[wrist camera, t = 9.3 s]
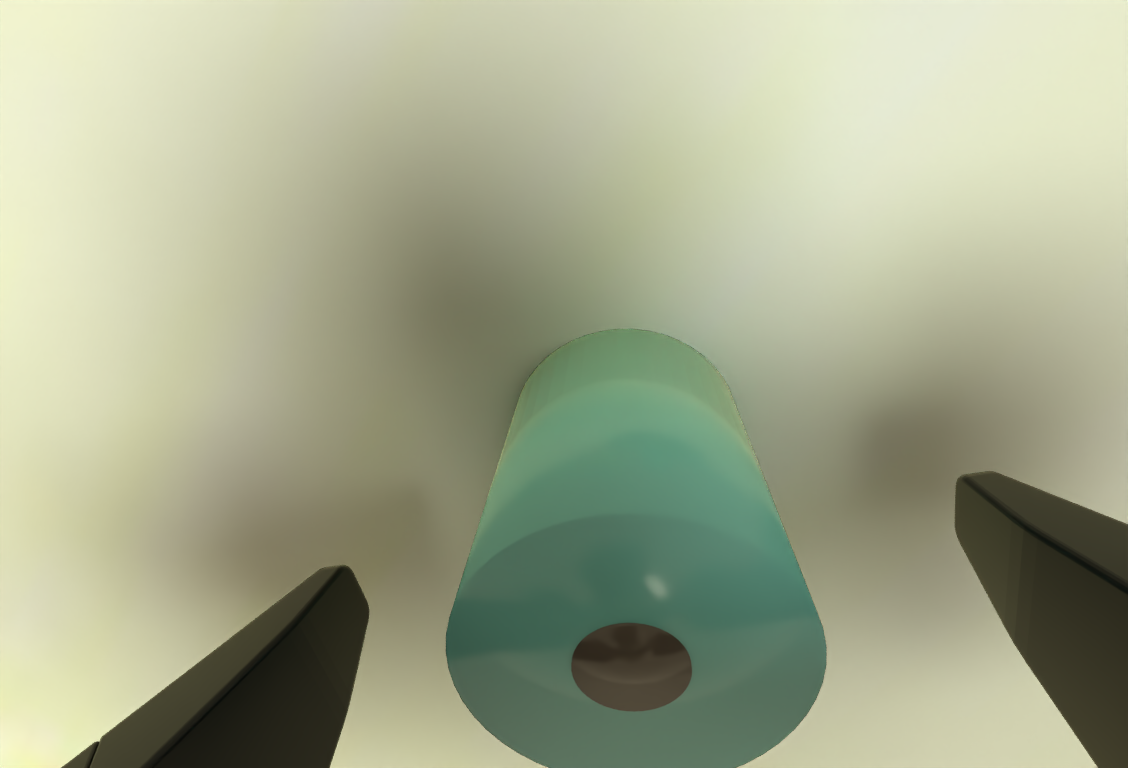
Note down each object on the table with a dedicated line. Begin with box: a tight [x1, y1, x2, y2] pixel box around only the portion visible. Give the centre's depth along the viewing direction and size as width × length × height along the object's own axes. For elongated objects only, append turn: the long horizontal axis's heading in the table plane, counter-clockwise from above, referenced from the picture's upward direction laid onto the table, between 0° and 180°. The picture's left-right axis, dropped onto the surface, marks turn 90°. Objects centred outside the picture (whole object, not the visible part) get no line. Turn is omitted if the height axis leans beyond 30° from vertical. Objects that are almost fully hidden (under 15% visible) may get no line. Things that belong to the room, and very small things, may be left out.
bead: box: [446, 329, 826, 768], centre depth 10 cm, size 4×4×6 cm
